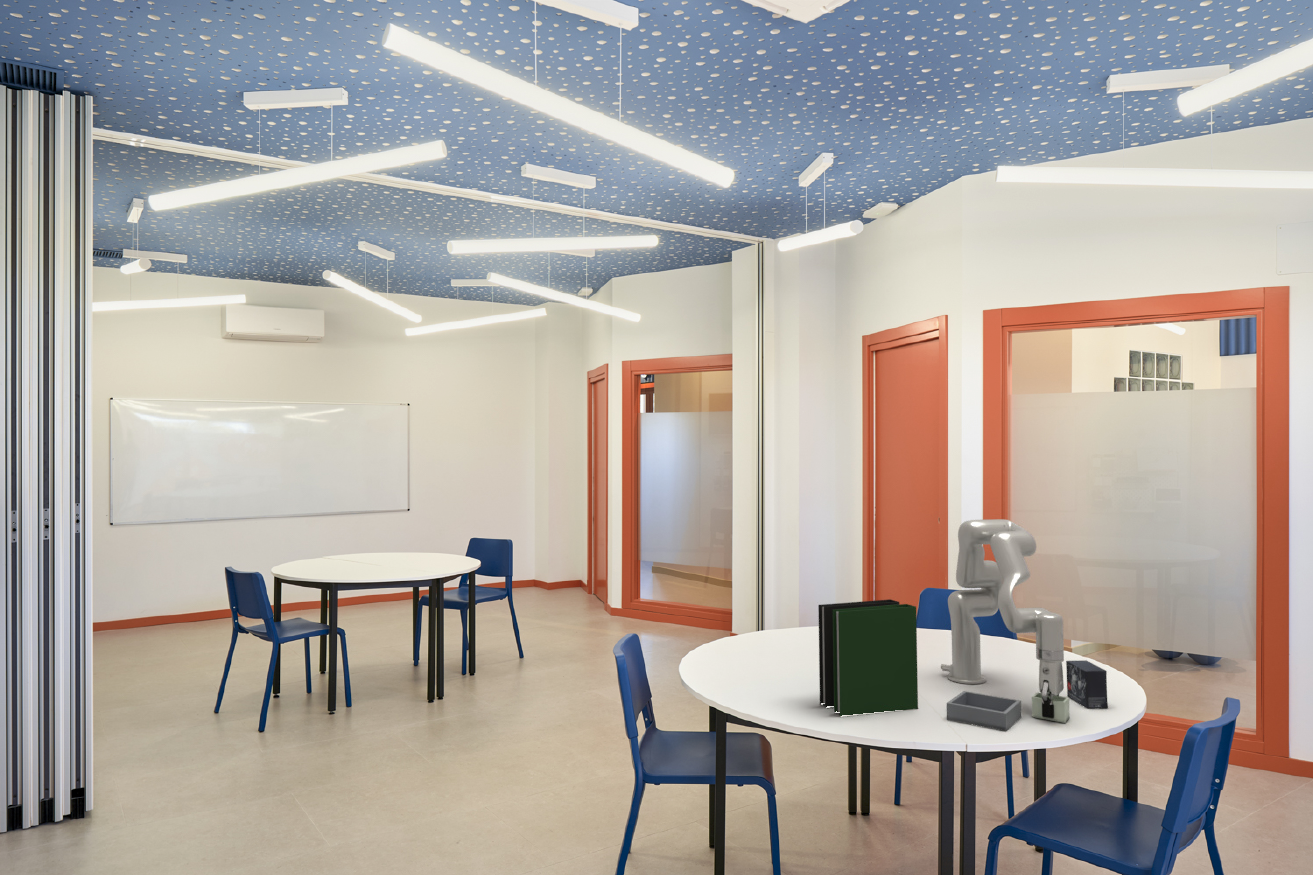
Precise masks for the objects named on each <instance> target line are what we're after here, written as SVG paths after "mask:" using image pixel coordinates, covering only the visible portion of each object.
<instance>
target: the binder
mask: <svg viewBox="0 0 1313 875" xmlns="http://www.w3.org/2000/svg"><path fill="white" fill-rule="evenodd" d="M917 624H918V623H917V606H915V605H912V604H908V603H902V604H900V601H897V600H893V599H891V598H889V599H877V600H876V599H875V600H864V601H854V602H852V601H851V602H838V603H828V604H827V603H824V604H818V662H819V663H818V666H819V667H818V668H819V669H818V670H819V704H820V703H825V705H824V708H825V707H827V706H834V708H833V713H834V712H836V711H837V712H840V713H839V717H840V716H842V715H853V714H863V713H874V712H884V711H894V712H896V711H895V710H903V711H910V710H911V711H912V710H918V709H919V688H918V687H919V686H918V684H919V682H918V639H917V638H918V637H917V633H918V632H917V629H918V628H917Z"/></svg>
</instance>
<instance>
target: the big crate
mask: <svg viewBox="0 0 1313 875" xmlns="http://www.w3.org/2000/svg"><path fill="white" fill-rule="evenodd" d="M1021 718H1022V700H1019V699H1014V698H1008V697H1003V696H996V695H992V694H991V695H989V694H984V693H980V692H973V691H967V690H963V691H962V692H960V693H959V694H957V695H956V696H954V697H953V698H951V699H950V700H949V701H947V702H946V720H947V721H950V722H957V723H962V724H966V725H971V724H973V725H972V726H976V725H977V727H981V726H982V728H988V729H992V730H997V731H1003V732H1007V731H1008V730H1009V729H1011V728H1012V727H1013V726H1014V725H1015V724H1016V723H1018V721H1019V720H1020V719H1021ZM1012 725H1013V726H1012Z"/></svg>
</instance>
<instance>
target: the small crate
mask: <svg viewBox="0 0 1313 875" xmlns="http://www.w3.org/2000/svg"><path fill="white" fill-rule="evenodd" d="M1048 697H1049V698H1050V696H1048ZM1053 705H1054V718H1053V719H1052V718H1047V717H1043V716H1042V693H1040V691H1039V692H1038V691H1037V692H1035V693H1034V694H1033V695H1032V696H1031V714H1032V716H1031V717H1032V718H1036V719H1041V720H1048V721H1052V722H1059V723H1063V724H1065V723H1066V722H1068V720H1069V719H1070V698H1069V697H1068V696H1061V695H1059V696H1055V695H1053Z"/></svg>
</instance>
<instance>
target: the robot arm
mask: <svg viewBox="0 0 1313 875" xmlns="http://www.w3.org/2000/svg"><path fill="white" fill-rule="evenodd" d="M957 530H958V532H957V538H958V539H957V541H958V555H957V563H956V572H955V581H956V583H957V585H958V586H959V587H960V588H964V589H959V590H954V591H953V592H951V593H950V595H949V596H948V598H947V605H948V606H947V607H948V612H949V616H950V625H951V626H950V628H951V663H952V664H948V665H947V664H944V663H941V665H940V670H942V671H943V672H948V674H947V679H949V681H952V682H954V683H958V684H963V685H964V684H966V685H980V684H983V683H986V681H987V678H986V676H984V675H982V665H981V664H982V663H981V662H982V661H981V660H982V658H981V657H982V656H981V631H980V630H981V629H980V627H979V625H978V623H977V622H976V620H975V619H974V618H977V617H992V616H994V615H995V614H996V613H997V612H998V610H999V612H1000V615H1001V616H1000V617H1001V618H1002V621H1003V623H1004V625H1005V627H1006V628H1007V629H1008V631H1010V632H1011V633H1014V634H1028V633H1029V634H1031V633H1035V658H1036V660H1039V666H1038V670H1039V671H1038V688H1039V689H1038V690H1039V693H1042V716H1043V717H1047V718H1052V719H1053V718H1054V705H1053V695H1055V696H1060V694H1061V693H1062V692H1063V690H1064V688H1065V687H1064V685H1065V684H1064V671H1063V670H1064V669H1063V662H1064V661H1065V651H1064V650H1065V648H1064V645H1065V644H1064V639H1065V638H1064V619H1063V616H1062V615H1061V614H1059V613H1056V612H1051V611H1050V610H1048V609H1046V608H1043V607H1021V608H1020V607H1017V606H1016V604H1015V601H1014V597H1013V594H1014V589H1015V587H1017V586H1019V585H1022V584H1023V583H1025V582H1026V581H1027V580H1029V579H1030V577H1031V570H1029V567H1028V565H1027V562H1026V560H1025V557H1031V556H1033V555H1034V554H1035V553H1036V551H1037V543H1036V540H1035V537H1034V536H1033V535H1032V533H1030V532H1029V531H1028V530H1027V529H1026V528H1024V527H1022V526H1020V525H1019V524H1017V523H1015V522H1013V521H1012V520H1009V519H1001V518H1000V519H997V518H995V519H994V518H993V519H970V520H966V521H964V522H962V523H960V526H959V528H958V529H957ZM984 545H989V546H990V550H991V552H992V554H993V558H994V560H995V561H994V560H985V554H986V552H985V548H984ZM1048 696H1050V698H1049V697H1048Z"/></svg>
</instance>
